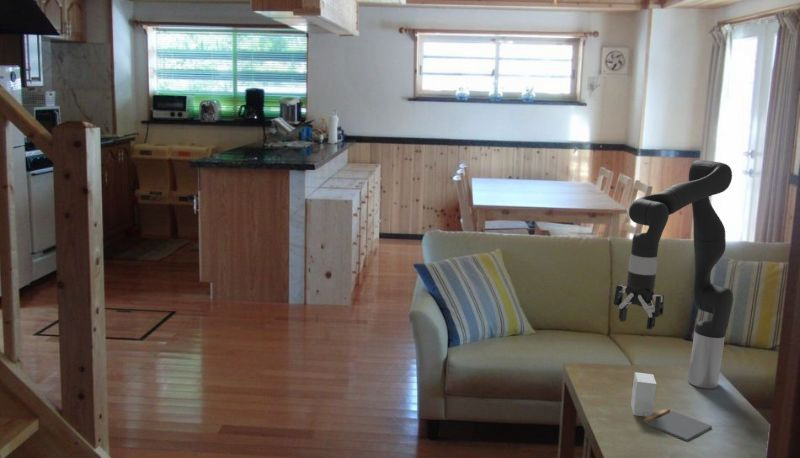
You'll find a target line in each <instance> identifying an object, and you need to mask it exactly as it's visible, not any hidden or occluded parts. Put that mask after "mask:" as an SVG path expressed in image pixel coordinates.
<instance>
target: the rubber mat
mask: <svg viewBox="0 0 800 458" xmlns="http://www.w3.org/2000/svg"><path fill="white" fill-rule="evenodd" d="M647 426H649V427H652V428H654V429H657V430H659V431H661V432H663V433H665V434H668V435H671V436H673V437H675V438H679V439H681V440H682V441H686V442H688V441H690V440H692V439H694V438H695V437H697V436H699V435H701V434H703V433H706V432H707V431H709V430H710V429H712V427H713V426H712V425H710V424H708V423H705V422H703V421H700V420H698V419H695V418H692V417H690V416H687V415H684V414H683V413H679V412H677V411H674V410H672V411H670V413H668V414H665V415H663V416H661V417H659V418H657V419H655V420H653V421H651V422H649V423H647Z"/></svg>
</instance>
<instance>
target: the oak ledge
mask: <svg viewBox="0 0 800 458" xmlns="http://www.w3.org/2000/svg"><path fill="white" fill-rule="evenodd" d="M670 412H671V408H668V407H666V408H663V409H662V410H659V411H657V412H655V413H653V414H652V415H650V416H648V417H644V423H646V424H648V423H649V422H651V421H653V420H655V419H657V418H659V417H661V416H663V415H665V414H668V413H670Z"/></svg>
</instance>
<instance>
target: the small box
mask: <svg viewBox="0 0 800 458" xmlns="http://www.w3.org/2000/svg"><path fill="white" fill-rule="evenodd" d="M657 386H658V384H657V381H656V378H655V375H654V374H652V373H643V372H637V371H636V372H635V371H634V374H633V383H632V391H631V399H630V401H631V402H630V407H631V411H632V414H633V416H639V417H644V418H646V417H648V416H650V415H652V414H654V409H655V402H656V393H657Z"/></svg>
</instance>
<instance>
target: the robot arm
mask: <svg viewBox="0 0 800 458" xmlns="http://www.w3.org/2000/svg"><path fill="white" fill-rule="evenodd" d="M732 179H733V172H732V168H731V167H730V165H728V164H726V163H724V162H720V161H713V160H706V159H698V160H697V159H696V160H694V161H693V162H692V164H691V165H690V167H689V171H688V181H685V182H679V183H675V184H674V185H671V186H668V187H667V188H665V189H663V190H662V191H660V192H657V193H653V194H649V195H645V196H642V197H639V198H637V199H635V200H634V201H633V202H632V203H631V205H630V207H629V211H628V216H629V218H630V220H631V221H632V222H633V223H636V224H637V225H641V226H645V227H646V226H647V227H648V228H647V230H646V232H637V233H635V234H634V235H633V236H632V237H633V238H632V241H631V250H630V251H631V252H630V257H629V261H628V269H627V279H626V284H627V285H626V286H625V285H624V284H623V283H622V284H618V285H616V287H615V294H614V299H613V304H614V306H617V307H618V308H619V312H618V319H619V321H620V322H626V321H627V316H628V308H627V307H628V306H629V305H630V304H631V305H637V306H638V307H643V309H644V311H646V314H647V315H648V317H647V322H646V330H649V331H650V330H652V329H653V328H654V327H655V325H656V318H658V317H661V316H663V315H664V303H665V296H664V294H655V292H654V289H655V286H656V279H657V277H656V276H657V268H658V253H659V252H658V251H659V243H660V240H661V237H662V235H663V232H664V230H665V227H666V225H667V223H668V220H669V216H670V215H673V214H675V213H676V212H679V211H680V210H681V209H683V208H685V207H686V206H689V205H691V208H692V210H691V211H692V223H693V225H692V227H693V230H692V231H693V234H692V235H693V248H694V249H693V251H694V252H693V253H694V281H693V304H694V306H695V309H697V310H699V311H702V312H706V313H709V314H711V315H712V317H711V319H710V320H699V321H697V322H696V323H695V327H694V332H693V333H694V334H693V342H692V346H691V347H692V348H691V355H690V361H689V367H688V368H689V369H688V376H687V382H688V384H690V385H692V386H694V387H698V388H702V389H717V388H718V386H719V385H718V384H719V379H720V373H721V365H722V359H723V352H724V346H725V345H724V344H725V339H726V332H727V329H728V327H729V323H730V322H729V321H730V316H731V313H732V309H733V303H734V294H733V291H732V289H730V288H729V287H725V286H721V285H718V284H714V283H712V282H711V281H712V280H711V273H712V270H713V269H714V267H715V266H716V264H717V263H718V262H719V261H720V259H721V258H722V257H723V255H724V253H725V251H726V246H727V245H726V243H727V241H726V229H725V226H724V224H723V221H722V219H721V218H720V216H719V215H718V214H717V212H716V210H715V209H714V207H713V206H712V203H711V200H710V197H712V196H714V195H718V194H719V195H720V193H724V192H725V191H726V190H727V189H728V188H729V186H731V183H732ZM624 293H626V294H625V295H626V297H625V298H624ZM623 298H624V299H623ZM652 300H653V301H652ZM653 302H654V303H655V304H654V303H653Z"/></svg>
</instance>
